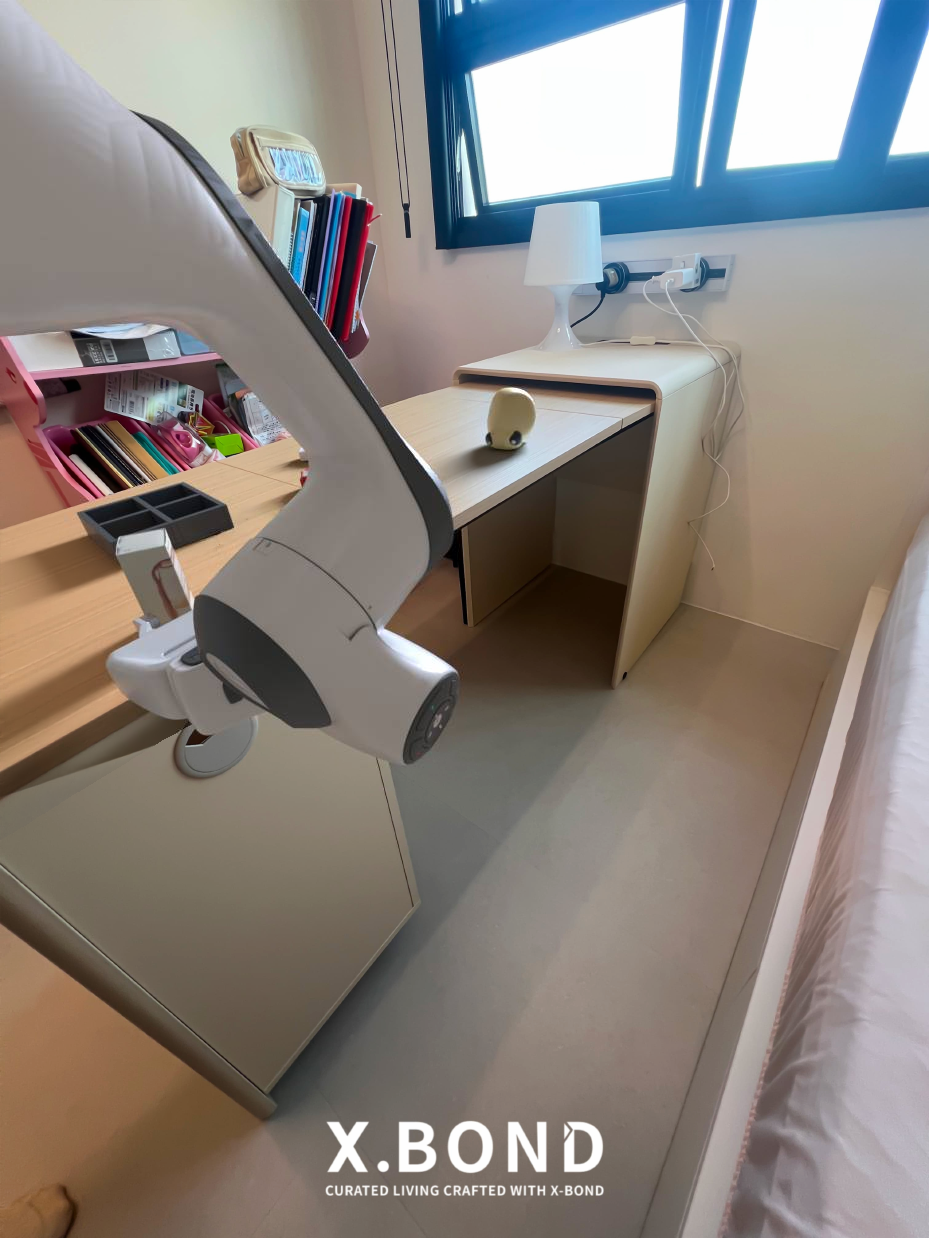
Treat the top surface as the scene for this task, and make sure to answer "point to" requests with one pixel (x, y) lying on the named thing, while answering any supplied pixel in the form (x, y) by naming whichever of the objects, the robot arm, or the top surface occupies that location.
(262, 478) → the top surface
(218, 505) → the compartment tray
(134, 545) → the white rectangular box
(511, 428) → the yellow toy head
